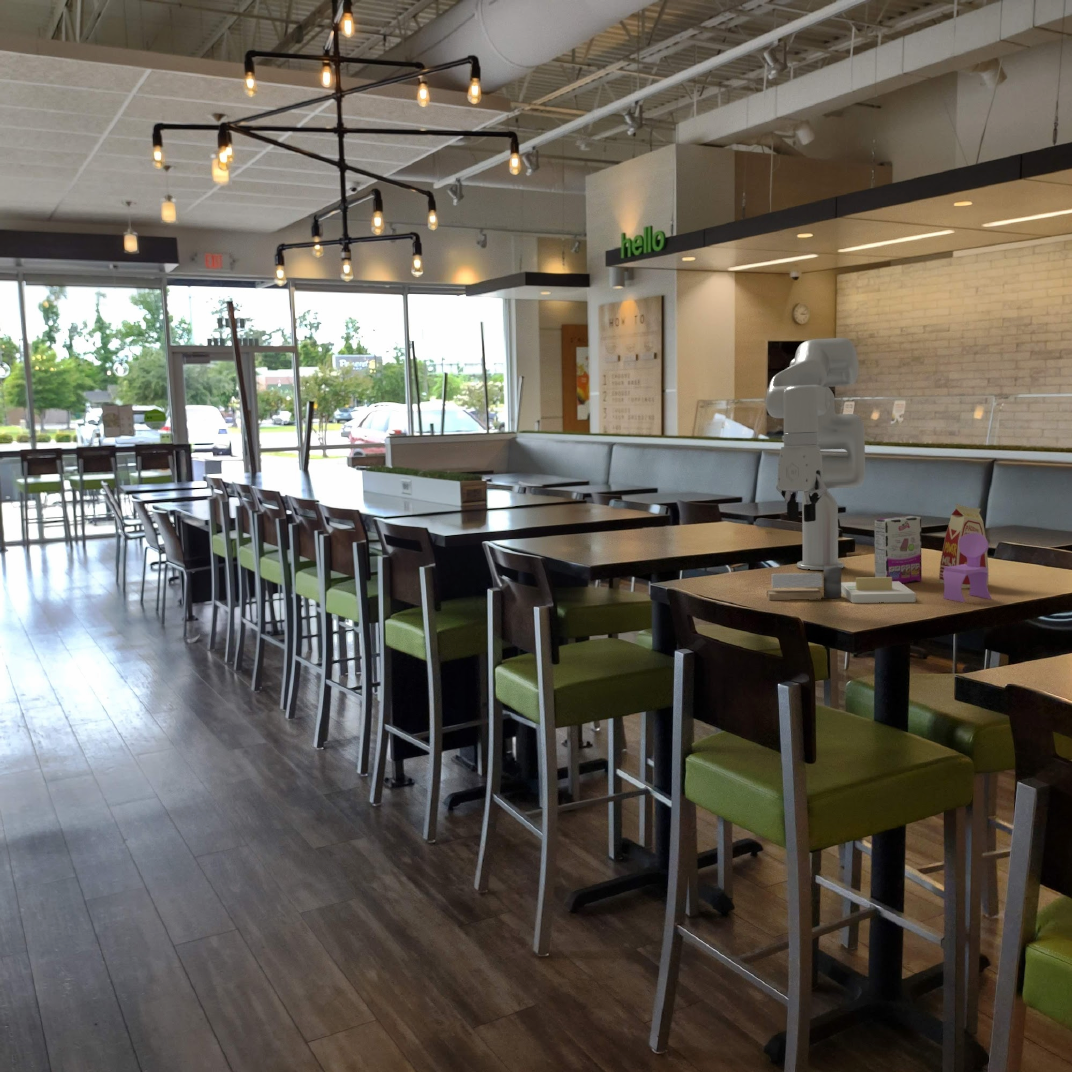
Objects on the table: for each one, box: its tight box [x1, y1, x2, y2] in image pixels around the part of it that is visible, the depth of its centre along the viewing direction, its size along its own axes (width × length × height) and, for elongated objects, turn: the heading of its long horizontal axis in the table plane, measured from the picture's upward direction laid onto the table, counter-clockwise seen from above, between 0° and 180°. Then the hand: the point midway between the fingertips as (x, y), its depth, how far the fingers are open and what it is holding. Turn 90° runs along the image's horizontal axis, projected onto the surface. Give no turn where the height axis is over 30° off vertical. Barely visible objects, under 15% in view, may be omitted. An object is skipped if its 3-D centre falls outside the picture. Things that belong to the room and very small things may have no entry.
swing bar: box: [771, 572, 823, 589], centre depth 240 cm, size 12×2×3 cm, turn 83°
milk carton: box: [938, 503, 990, 589], centre depth 248 cm, size 9×9×20 cm
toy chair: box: [942, 533, 993, 603], centre depth 230 cm, size 8×9×15 cm
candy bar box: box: [873, 515, 923, 584], centre depth 254 cm, size 11×5×16 cm, turn 112°
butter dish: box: [841, 576, 916, 604], centre depth 238 cm, size 16×14×5 cm
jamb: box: [766, 566, 842, 601], centre depth 240 cm, size 6×17×7 cm, turn 83°
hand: (801, 519), depth 232 cm, fingers open, 4 cm apart
